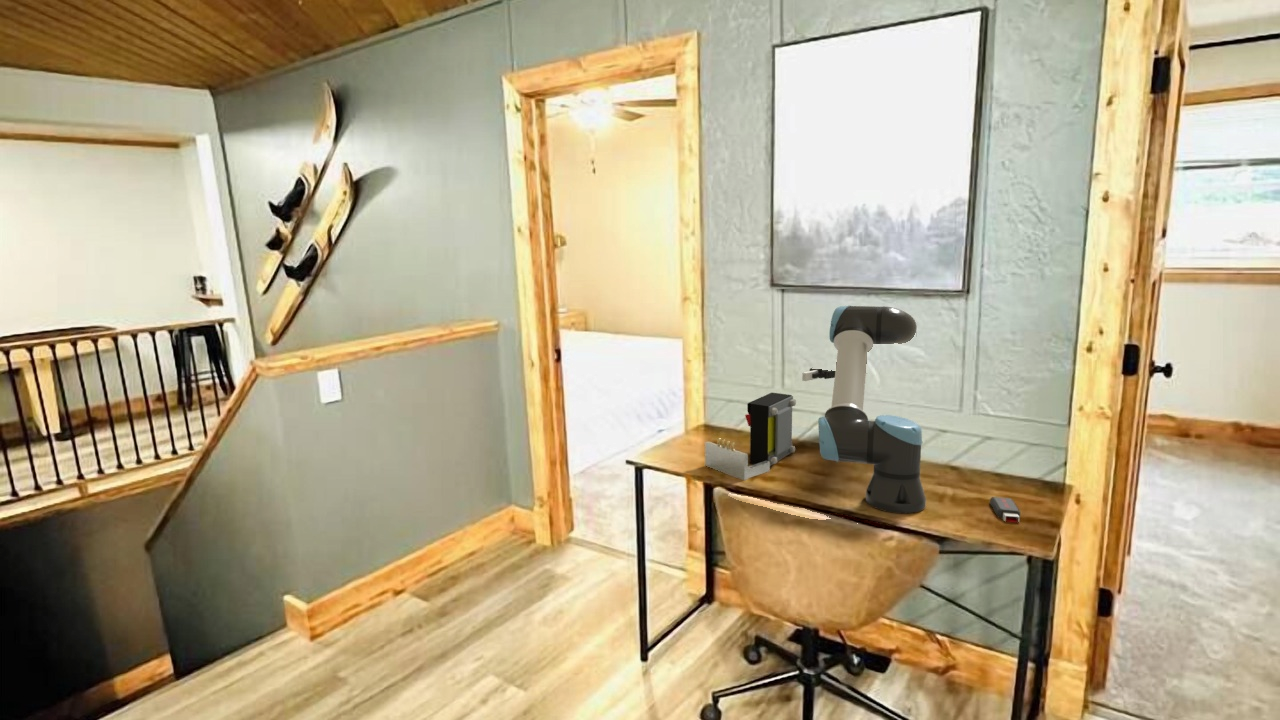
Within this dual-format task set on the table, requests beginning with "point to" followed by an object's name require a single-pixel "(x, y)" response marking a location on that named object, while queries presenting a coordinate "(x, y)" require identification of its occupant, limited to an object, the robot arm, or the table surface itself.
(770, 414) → the electrical component
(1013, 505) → the usb drive
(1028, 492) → the table surface
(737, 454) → the mounting bracket
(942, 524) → the table surface
